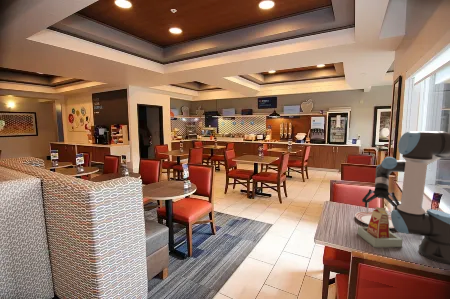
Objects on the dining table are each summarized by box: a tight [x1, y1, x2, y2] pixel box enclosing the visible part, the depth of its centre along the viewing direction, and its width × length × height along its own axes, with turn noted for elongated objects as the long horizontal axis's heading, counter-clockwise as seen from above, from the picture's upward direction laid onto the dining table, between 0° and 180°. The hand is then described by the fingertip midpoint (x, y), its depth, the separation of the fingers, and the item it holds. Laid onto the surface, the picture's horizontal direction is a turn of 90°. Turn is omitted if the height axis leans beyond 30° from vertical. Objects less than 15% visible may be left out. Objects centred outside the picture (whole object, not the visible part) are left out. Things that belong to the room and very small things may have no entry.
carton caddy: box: [357, 226, 404, 249], centre depth 134 cm, size 16×16×5 cm
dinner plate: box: [354, 210, 395, 230], centre depth 158 cm, size 28×27×3 cm
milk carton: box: [367, 206, 391, 238], centre depth 133 cm, size 9×9×20 cm
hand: (380, 214), depth 141 cm, fingers open, 13 cm apart
